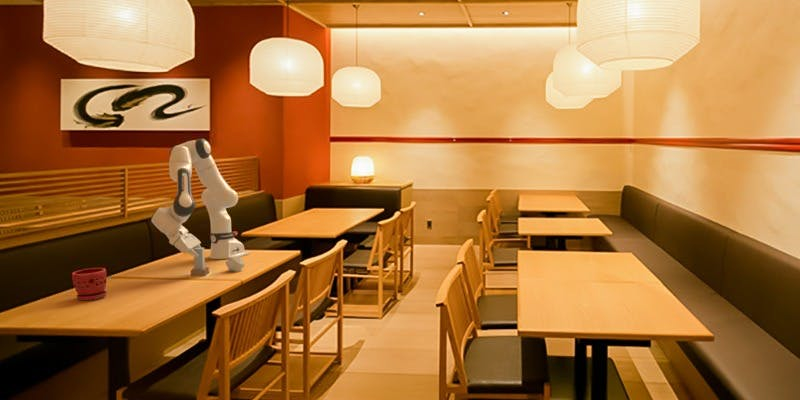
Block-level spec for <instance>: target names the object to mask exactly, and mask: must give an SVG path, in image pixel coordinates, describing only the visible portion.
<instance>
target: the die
mask: <svg viewBox="0 0 800 400" xmlns="http://www.w3.org/2000/svg"><path fill="white" fill-rule="evenodd" d="M225 266H226V267H227V269H228V272H234V273H235V272H236V273H239V272H240V271H241V270H242V269H243V268H244V267H245V266H246V264H245V263H244V260H243V257H242V256H232V257H230V258H229V259H227V261H225Z"/></svg>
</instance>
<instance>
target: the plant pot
mask: <svg viewBox="0 0 800 400" xmlns="http://www.w3.org/2000/svg"><path fill="white" fill-rule="evenodd" d="M71 278H72V279H71V280H72V284H73V287H74V290H75V291H76V293H77V295H76V299H78V300H79V301H87V300H90V301H93V300H94V301H95V300H100V299H102V298H105V297H106V295H107V294H108V292H107V290H106V287H107V279H108V278H107V269H106V268H105V267H92V268H84V269H79V270H76V271H73V272H72V273H71ZM92 280H93V281H92Z"/></svg>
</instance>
